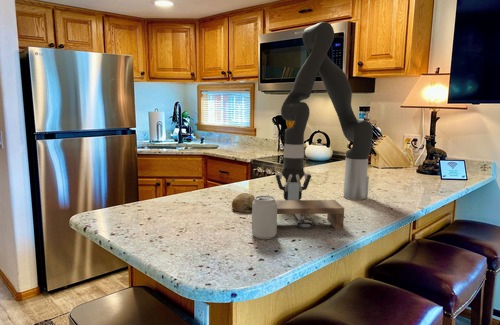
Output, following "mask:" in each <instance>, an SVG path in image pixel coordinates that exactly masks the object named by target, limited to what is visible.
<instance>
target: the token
mask: <svg viewBox="0 0 500 325" xmlns="http://www.w3.org/2000/svg"><path fill="white" fill-rule="evenodd" d="M296 228H298V229H299V230H303V231H304V230H305V231H308V230H311V229H313V221H311V220H309V219H304V220H298V219H297V221H296Z"/></svg>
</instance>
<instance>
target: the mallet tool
mask: <svg viewBox="0 0 500 325" xmlns="http://www.w3.org/2000/svg"><path fill="white" fill-rule="evenodd" d="M287 191H288V200H299V183H297V182H290V183H289V182H288V190H287ZM294 215H295V217H296V218H297V221H298V220H305V216H304V214H294Z"/></svg>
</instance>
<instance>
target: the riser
mask: <svg viewBox="0 0 500 325" xmlns="http://www.w3.org/2000/svg"><path fill="white" fill-rule="evenodd" d="M275 201H276V202H277V215H295V214H303V215H322V214H323V215H327V216H326V217H327V218H326V219H327V220H326V221H328V222H329V223H330V224H331V226H333V228H334V229H335V230H344V223H345V222H344V219H345V207H343V206H342V204H340V203H339V202H338V201H336V199H300V200H285V199H281V200H277V199H275Z"/></svg>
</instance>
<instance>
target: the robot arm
mask: <svg viewBox="0 0 500 325" xmlns="http://www.w3.org/2000/svg"><path fill="white" fill-rule="evenodd" d="M334 39H335V30H334V28H333V26H332V24H331V23H329V22H327V21H320V22H318V23H316V24H314V25H310V26H309V27H306V28H305V29H304V30H303V32H302V42H303V45H304V48H305V50H306V51H307V53H308V55H309V56H308V57H307V58H306V60H304V61H305V62H304V63H303V64H302V66H301V67H300V69H299V71H298V72H297V74H296V77H295V80H294V83H293V86H292V89H291V91H290V92H289V94H287V97H286V98H285V100H284V102H283V103H282V105H281V108H280V113H281V114H280V115H281V117H282V119H283V120H285V121H287V122H294V124H293V126H292V127H288V128H286V129H285V130H284V147H283V165H282V166H283V169H282V171H281V173H275V174H274V176H275V179H276V183H277V186H278V188H279V190H280V191H283V200H288V191H287V190H288V182H289V183H290V182H297V183H299V200H302V196H303V195H302V194H303V191H306V190H307V189H308V186H309V184H310V182H311V178H312V175H311V174H310V173H305V171H304V164H305V163H304V162H305V149H304V148H305V146H304V143H305V131H306V128H307V124H308V121H309V118H310V108H309V104H307V103H306V102H304V101H305V100H307V99H309V98H310V97H311V94H312V90H313V87H314V84H315V82H316V78H317V76H318V74H319V76H320V78H321V81H322V83H323V85H324V88H325V89H326V92H327V95H328V97H329V99H330V101H331V103H332V105H333V108H334V111H335V112H336V115H337V118H338V121H339V124H340V126H341V127H340V128H341V130H342V133H343V134H342V135H343V136H344V137H345V139H347V140H348V141H349V142H352V145H351V146H352V147H351V148H350V149H348V150H346V151H345V160H344V161H345V164H344V180H343V181H344V182H343V198H344V199H347V200H351V201H353V200H354V201H355V200H356V201H361V200H362V201H363V200H368V197H369V196H368V195H369V181H370V180H369V179H370V178H369V176H368V167H369V166H368V165H369V155H370V153H371V149H372V143H373V125H372V124H371V123H370V122H369V121H368V120H363V119H357V117H356V115H355V113H354V111H353V107H352V97H353V92H352V91H353V90H352V87H351V84H350V81H349V79H348V77H347V74H346V73H345V71H344V70H342V68H340V66H338V65H337V64H336V63H334V61H333V60H331V58H330V57H329V56H328V52H329V50H330V48H331V46H332V44H333V42H334ZM282 177H283V178H284V179H285V181H284V186H283V184H282V181H281V180H282ZM303 177H304V181H303V184H302V183H301V180H302V178H303Z"/></svg>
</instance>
